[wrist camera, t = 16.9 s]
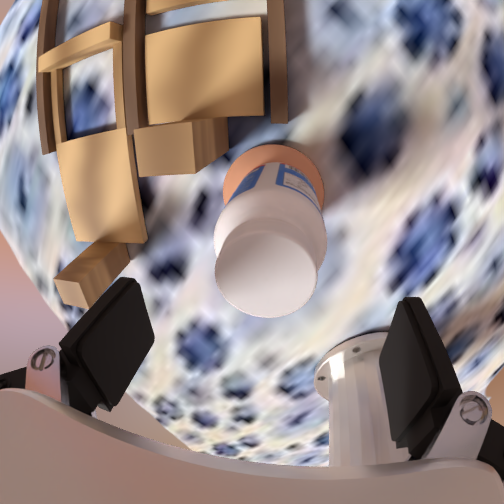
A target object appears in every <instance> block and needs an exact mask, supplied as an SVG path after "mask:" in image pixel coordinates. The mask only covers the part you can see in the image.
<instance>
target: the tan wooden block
mask: <svg viewBox="0 0 504 504" xmlns="http://www.w3.org/2000/svg"><path fill="white" fill-rule="evenodd" d="M145 67H146V92H147V108H148V121H149V125H151V124H158V123H164V124H159V125H154V126H149V127H144V128H139V129H135V130H134V139H135V148H136V157H137V164H138V172H139V177H146V176H160V175H177V174H196V173H197V172H199V171H200V170H201V169H203V168H204V167H206V166H207V165H208V164H210V163H211V162H213V161H214V160H216V159H217V158H219V157H220V156H221V155H223V154H224V153H226V152H227V151H229V141H228V119H227V117H230V116H261V115H265V101H264V67H263V39H262V20H261V17H249V18H237V19H227V20H219V21H211V22H205V23H198V24H193V25H187V26H182V27H177V28H173V29H168V30H164V31H160V32H156V33H152V34H149V35H145ZM173 121H175V122H173ZM165 122H170V123H165Z"/></svg>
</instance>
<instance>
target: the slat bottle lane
mask: <svg viewBox="0 0 504 504" xmlns="http://www.w3.org/2000/svg"><path fill="white" fill-rule="evenodd" d="M111 48H113V78H114V98H115V112H116V124H117V129H116V130H111V131H106V132H102V133H97V134H93V135H89V136H85V137H81V138H77V139H73V140H70V141H67V135H66V126H65V115H64V101H63V74H62V69H63V68H65V67H67V66H70V65H72V64H74V63H76V62H78V61H81V60H83V59H85V58H88V57H90V56H93V55H95V54H98V53H100V52H103V51H106V50H108V49H111ZM38 72H51V98H52V113H53V124H54V134H55V142H56V149H57V156H58V162H59V168H60V174H61V179H62V184H63V189H64V194H65V198H66V202H67V207H68V211H69V215H70V219H71V223H72V226H73V230H74V234H75V237H76V240H77V241H89V242H94V243H93V244H92V245H90V246H89V247H88V248H87V249H86V250H85V251H83V252H82V253H81V254H80V255H79V256H78V257H77V258H75V259H74V260H73V261H72V262H71V263H70V264H69V265H68V266H67V267H65V268H64V269H63V270H62V271H61V272H60V273H59V274H58V275H57V276H56V277H55V278H54V282H55V284H56V286H57V289H58V291H59V293H60V296H61V298H62V300H63V302H64V304H68V305H73V306H77V307H82V308H86V309H90V308H91V307H92V305H93V304H94V303H95V302H96V301H97V299H98V298H99V297H100V296H101V295H102V293H103V292H104V291H105V290H106V289H107V288H108V286H109V285H110V284H111V283H112V282H113V281H114V279H115V278H116V277H117V276H118V275H119V274H120V273H121V272H122V270H123V269H124V268H125V267H126V266H127V265H128V264H129V263H130V259H129V255H128V251H127V247H126V243H145V242H146V241H147V240H148V236H147V231H146V226H145V221H144V216H143V210H142V204H141V199H140V192H139V186H138V179H137V172H136V165H135V157H134V149H133V140H132V135H128V134H127V124H126V112H125V98H124V78H123V25H120V24H117V23H114V22H111V21H110V22H107V23H105V24H102V25H100V26H98V27H95V28H93V29H91V30H89V31H87V32H84V33H82V34H80V35H78V36H76V37H74V38H72V39H70V40H68V41H66V42H64V43H62V44H61V45H59V46H57V47H55V48H53V49H52V50H50V51H48V52H46V53H45V54H43V55H41V56H40V57H39V60H38Z"/></svg>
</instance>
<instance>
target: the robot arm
mask: <svg viewBox="0 0 504 504" xmlns="http://www.w3.org/2000/svg"><path fill="white" fill-rule="evenodd" d="M154 339H155V337H154V332H153V329H152V326H151V323H150V319H149V316H148V312H147V309H146V305H145V302H144V298H143V294H142V291H141V287H140V284H139V283H137V281H136V280H135V279H134V278H127V277H120V278H119V279H118V280H117V281H116V282H115V283H114V284H113V285H112V286H111V287H110V288H109V289H108V290H107V291H106V292H105V293H104V294H103V295H102V296H101V297H100V298H99V299H98V300H97V301H96V302H95V303H94V305H93V306H92V307H91V308H90V309H89V310H88V311H87V312H86V313H85V314H84V315H83V316H82V318H81V319H80V320H79V321H78V322H77V323H76V324H75V325H74V326H73V328H72V329H71V330H70V331H69V332H68V333H67V335H66V336H65V337H64V338H63V339H62V340H61V341H60V342H59V345H60V347H61V350H60V352H59V351H58V350H57V348H55V347H54V346H49V345H48V346H43V347H40V348H38V349H37V350H35V351H34V352H33V353H32V354H31V355H30V357H29V359H28V362H27V367H24V368H21V369H18V370H14V371H11V372H8V373H4V374H2V375H0V504H504V427H503V426H502V425H500V424H499V423H497V422H495V421H494V420H492V419H491V416H492V409H491V405H490V403H489V401H488V400H487V399H486V397H485V396H483V395H482V394H480V393H478V392H475V391H467V392H464V393H463V392H462V389H461V387H460V384H459V381H458V378H457V376H456V373H455V371H454V368H453V366H452V363H451V361H450V358H449V356H448V354H447V351H446V349H445V347H444V344H443V342H442V340H441V338H440V336H439V334H438V332H437V330H436V328H435V326H434V324H433V321H432V319H431V317H430V315H429V313H428V311H427V309H426V307H425V305H424V303H423V301H422V299H421V298H420V297H405V298H404V299H403V301H399V302H398V305H397V308H396V311H395V314H394V317H393V320H392V323H391V326H390V329H389V332H378V333H371V334H366V335H363V336H359V337H356V338H353V339H351V340H348V341H346V342H344V343H342V344H340V345H338V346H337V347H335V348H333V349H332V350H331V351H329V352H328V353H327V354H326V355H325V356H324V357H323V358H322V359H321V360H320V361H319V363H318V364H317V366H316V368H315V372H314V386H315V389H316V391H317V392H318V394H319V395H321V396H322V397H323V398H325V399H326V400H328V401H329V467H309V466H289V465H276V464H266V463H257V462H249V461H242V460H236V459H230V458H224V457H219V456H213V455H209V454H204V453H199V452H195V451H190V450H187V449H183V448H179V447H175V446H172V445H168V444H165V443H161V442H158V441H155V440H152V439H149V438H145V437H142V436H139V435H137V434H134V433H131V432H128V431H126V430H123V429H120V428H118V427H115V426H112V425H110V424H108V423H105V422H103V421H100V420H98V419H97V416H96V411H95V409H96V407H97V405H98V407H99V408H101V409H104V410H106V411H109V412H111V410H112V408H113V406H116V405H117V404H118V403H119V401H120V400H121V398H122V396H123V394H124V393H125V391H126V389H127V387H128V386H129V384H130V382H131V380H132V379H133V377H134V375H135V374H136V372H137V370H138V369H139V367H140V365H141V363H142V362H143V360H144V358H145V357H146V355H147V353H148V352H149V350H150V348H151V347H152V345H153V343H154Z"/></svg>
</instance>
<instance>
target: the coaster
mask: <svg viewBox="0 0 504 504" xmlns="http://www.w3.org/2000/svg"><path fill="white" fill-rule="evenodd" d="M271 162H280V163H286V164H289V165H292V166H294V167H296V168H298V169H299V170H301V171H302V172H303V173H304V174H305V175H306V176H307V177H308V178H309V180H310V181H311V182H312V184H313V186H314V189H315V192H316V196H317V199H318V202H319V205H320V209H322V206H323V201H324V188H323V183H322V179H321V176H320V174H319V172H318V170H317V168H316V167H315V165H314V164H313V163H312V162H311V160H310V159H309V158H307V157H306V156H305V155H304V154H302V153H301V152H300V151H298V150H296V149H294V148H291V147H288V146H285V145H279V144H266V145H261V146H257V147H254V148H252V149H250V150H248V151H246V152H245V153H243V154H242V155H241V156H240V157H239V158H237V159H236V160H235V162H234V163H233V164H232V165H231V167H230V168H229V170H228V172H227V174H226V177H225V180H224V186H223V197H224V203H225V206H226V204H227V203H228V201H229V200H230V198H231V196H232V195H233V193H234V192H235V190H236V189H237V187H238V186H239V184H240V183H241V181H242V180H243V178H244V177H245V176H246V175H247V174H248V173H249V172H250V171H251V170H253V169H254V168H256V167H258V166H260V165H262V164H266V163H271Z"/></svg>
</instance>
